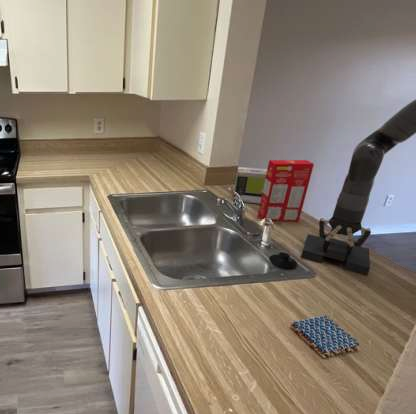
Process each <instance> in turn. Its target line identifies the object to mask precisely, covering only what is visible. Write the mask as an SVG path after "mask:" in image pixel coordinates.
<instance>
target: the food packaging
mask: <svg viewBox="0 0 416 414" xmlns="http://www.w3.org/2000/svg"><path fill="white" fill-rule="evenodd" d="M314 166H315V163H314V162H311V161H310V160H307V159H269V160H268V165H267V168H266V169H267V173H266V178H265V183H264V188H263V192H262V197H261V202H260V204H259V206H258V207H259V208H258V212H257V217H258V218H259V219H260V220H261V219H264V218H270V219H271V220H272V221H273V223H274V222H275V223H277V222H278V223H279V222H281V223H292V222H293V223H299V222H300V219H301V216H302V210H303V207H304V204H305V199H306V196H307V192H308V188H309V185H310V181H311V176H312V173H313V170H314Z"/></svg>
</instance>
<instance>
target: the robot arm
mask: <svg viewBox="0 0 416 414" xmlns="http://www.w3.org/2000/svg"><path fill="white" fill-rule="evenodd" d="M414 135H416V99H413V100H412V101H411V102H409V103H408V104H406V105H404V107H402V108H401V109H400V110H399V111H397V112H396V113H394V115H392V116H391V117H390V118H389V119H388V120H386V121H385V122H384V124H382V125H381V126H380V127H379V128H378V129H376V130H375V131H373V132H372V133H371V134H369V135H368V136H367V137H365V138H363V139H362V140H361V141H360V142H359V143H358V144H357V145H356V146H355V148H354V150H353V153H352V156H351V159H350V163H349V167H348V170H347V171H348V172H347V174H346V176H345V178H344V182H343V184H342V187H341V191H340V192H339V195H338V197H337V199H336V204H335V208H334V210H333V213H332V216H331V217H330V218H329V219H324V218H320V219H319V222H318V225H319V226H318V227H319V228H318V229H319V230H318V231H319V232H318V233H319V235H318V237H321V238H324V239H325V241H324V244H323V248H324V250H325V251H324V252H326V251H327V248H328V245H329V242H330V239H331V238H334V237H335V235H341V236H345V237H347V239H348V242H347V243H348V245H347V254H346V256H347V255H350V254H351V251H352V248H353V247H354V246H358V247H363V246H362V245H363V244H364V243H365V242H366V240H367V239H368V238H369V236H370V235H371V234H372V231H371V228H369V227H367V228H366V227H364V226H362V222H363V218H364V216H365V214H366V210H367V207H368V205H369V201H370V195H371V192H372V190H373V187H374V184H375V179H376V176H377V175H378V172H379V170H380V168H381V165H382V163H383V160H384V157H385V155H386V154H387V153H389V152H390V151H391V150H392V149H394V148H395V147H396V146H398V145H399V144H402V143H405V142H406V141H407V140H409V139H411V137H413V136H414ZM328 224H329V226H330V228H331V229H330V230H329V231H328V232H327V233H325V227H327V226H328ZM359 231H360V234H361V235H360V236H359V238H358V239H357V240H355V239H354V235H355V234H357V232H359Z"/></svg>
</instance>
